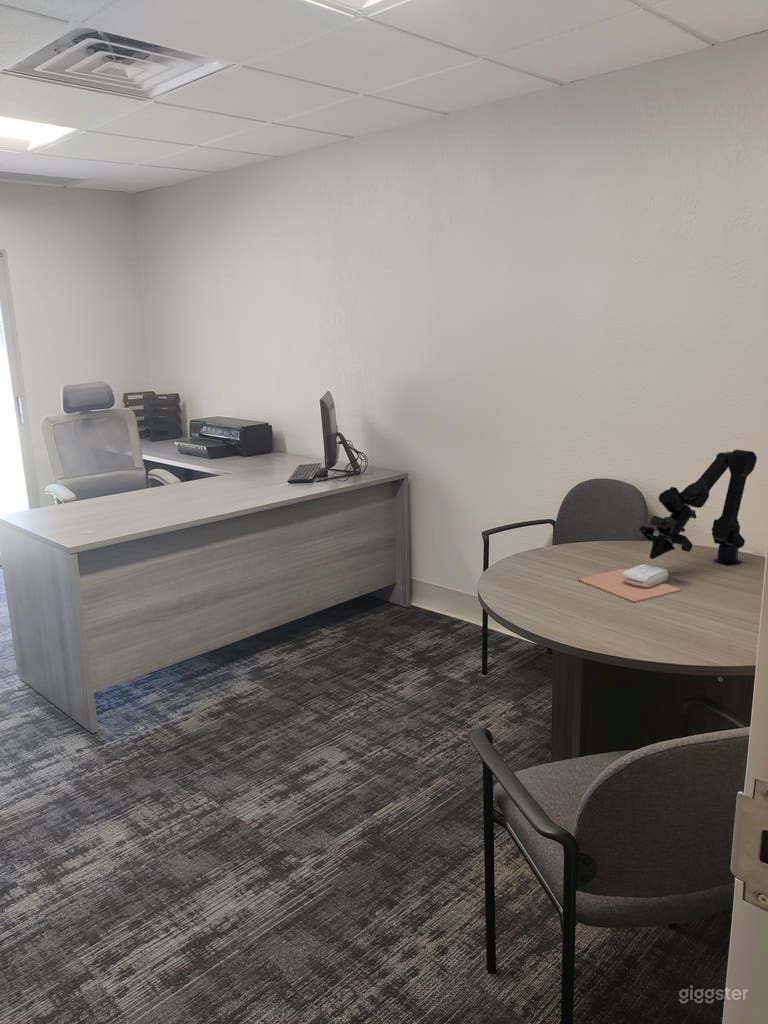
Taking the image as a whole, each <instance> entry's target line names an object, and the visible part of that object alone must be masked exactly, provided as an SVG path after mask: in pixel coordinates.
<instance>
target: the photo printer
mask: <svg viewBox="0 0 768 1024" xmlns="http://www.w3.org/2000/svg"><path fill="white" fill-rule="evenodd" d="M625 570H626V571H624V572H623V574H622V579H623V580H624V581H625V582H627V583H629V584H632V585H636V586H640V587H651V586H654V585H656V584H659V583H661V582H662V583H664V582H666V581H667V579H668V578H669V572H668V571H667V569H665V568H662V567H658V566H654V565H651V564H645V563H644V564H643V563H642V564H640V565H636V566H634V567H631V568H628V569H625Z"/></svg>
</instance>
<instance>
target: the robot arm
mask: <svg viewBox="0 0 768 1024" xmlns="http://www.w3.org/2000/svg"><path fill="white" fill-rule="evenodd" d="M757 460H758V457H757V455H756V454H755V452H754V451H751V450H743V449H738V448H737V449H734V450H733V451H731V452H730V451H726V452H719V453H717V454H716V457H715V459H714V460H713V462H712V463H711V464H709V466H708V468H706V470H705V471H704V472H703V474H701V476H700V477H699V478H698V479H697V480H696V481H695V482H692V483H691V484H688V485H687V486H686V487H685V488H684V489H683V490H682V491H681V492H680V491H679V489H678V488H677V487H675V486H674V487H673V486H670V488H669V489H666V490H664V491H662V492H661V493H659V496H658V501H659V502H660V504H661V505H662V506H663V507H664V509H665V510H666V511H667V512H668V513H671V514H670V515H669V516H665V517H660V516H656V515H652V516H651V519H650V521H649V525H650V526H649V525H646V524H644V525H641V526H640V528H639V530H638V531H639V533H641V535H642V537H644V538H645V539H646V540H647V541H650V542H652V547H651V550H650V555H649V558H650V559H651V560H654V559H656V558H658V557H660V556H661V555H664V554H665V553H668V552H670V551H672V550H673V551H674V550H675V549H676V548H675V546H676V545H680V546H681V550H682V551H683V552H684V551H685V552H688V553H689V552H690V551H691V550H692V549H693V543H692V541H690V540H689V538H688V537H687V536H686V535H684V534H681V532H682V533H684V532H685V531H686V529H685V526H686V525H687V523H688V522H689V520H690V519H691V518H692V519H693V520H694V519H697V514H696V510H695V509H692V508H697V509H700V508H702V507H703V506H705V504H706V502H707V501H708V499H709V497H710V491H711V489H712V488H713V486H715V485H716V483H717V482H718V480H719V479H721V478H722V476H723V475H724V473H725V472H726V471H727V469H728V470H729V473H730V477H729V483H728V487H727V491H726V495H725V499H724V503H723V504H724V505H723V508H722V513H721V515H720V516H719V518H718V519H714V520H713V524H712V527H711V536H712V538H713V542H714V544H718V550H717V558H715V559H713V560H714V562H717V561H718V563H720V562H721V564H723V563H725V565H727V564H728V566H730V564H732V565H736V564H739V563H738V562H740V563H742V560H740V559H739V549H741V548H742V547H743V548H744V546H745V543H746V539H744V537H743V536H742V535H741V534H740V530H741V525H740V523H739V519H738V516H739V511H740V507H741V504H742V499H743V495H744V491H745V486H746V482H747V478H748V477H749V476H750V474H751V473H753V471H754V469H755V467H756V464H757ZM691 507H692V508H691ZM653 526H654V527H655V528H654V527H653ZM655 529H656V530H655ZM735 563H736V564H735Z"/></svg>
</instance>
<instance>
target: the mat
mask: <svg viewBox="0 0 768 1024" xmlns="http://www.w3.org/2000/svg"><path fill="white" fill-rule="evenodd" d="M626 570H627V569H626V568H621V569H617V570H612V571H607V572H602V573H599V574H593V575H589V576H585V577H581V578H580V577H579V578H577V581H578V580H580V581H583V582H585V583H587V584H586V585H588V584H589V585H588V586H590V585H592V586H591V587H593V586H594V588H595V587H596V588H595V589H598V588H599V589H598V590H600V589H601V591H604V592H605V591H606V593H609V594H610V593H611V595H613V596H616V597H619V598H620V599H624V600H626V601H628V602H631V603H639V602H642V601H643V602H644V601H648V600H651V599H654V598H659V597H663V596H667V595H671V594H675V593H679V592H683V589H682V588H679V587H676V586H673V585H670V584H667V583H664V582H661V583H659V584H656V585H654V586H651V587H640V586H636V585H632V584H629V583H627V582H625V581H624V580H623V579H622V574H623V572H624V571H626ZM580 581H579V582H580ZM583 582H582V583H583ZM585 583H584V584H585Z"/></svg>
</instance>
